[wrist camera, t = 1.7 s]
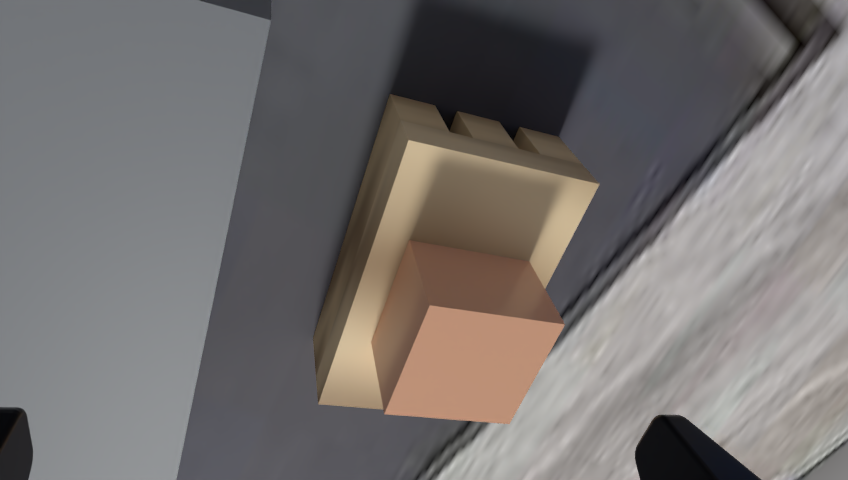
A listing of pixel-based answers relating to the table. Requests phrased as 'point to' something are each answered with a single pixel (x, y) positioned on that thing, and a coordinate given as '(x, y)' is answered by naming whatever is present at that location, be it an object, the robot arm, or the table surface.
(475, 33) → the table surface
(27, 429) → the robot arm
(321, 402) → the tray
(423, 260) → the block
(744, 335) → the table surface
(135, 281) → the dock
